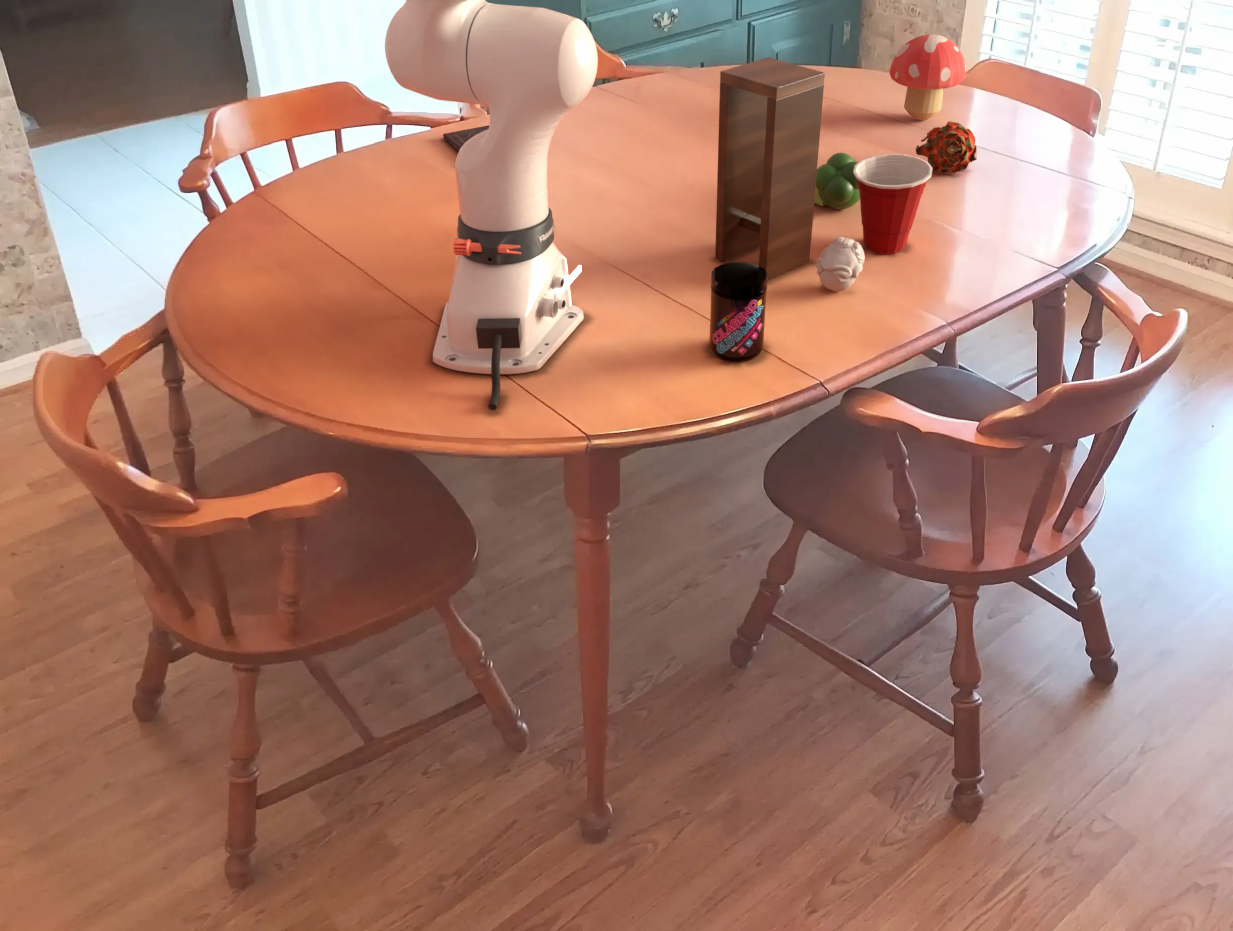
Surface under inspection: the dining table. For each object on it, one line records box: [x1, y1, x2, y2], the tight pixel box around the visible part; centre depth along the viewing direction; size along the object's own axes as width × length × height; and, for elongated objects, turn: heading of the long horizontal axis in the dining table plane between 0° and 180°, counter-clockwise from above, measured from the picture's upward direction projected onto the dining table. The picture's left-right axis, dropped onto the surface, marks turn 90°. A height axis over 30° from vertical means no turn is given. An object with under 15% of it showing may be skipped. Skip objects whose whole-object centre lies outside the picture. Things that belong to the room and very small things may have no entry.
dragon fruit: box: [915, 120, 978, 176], centre depth 181 cm, size 8×8×12 cm
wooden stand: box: [714, 56, 826, 282], centre depth 149 cm, size 10×9×26 cm
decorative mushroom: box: [888, 34, 967, 121], centre depth 199 cm, size 13×13×15 cm
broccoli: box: [814, 152, 860, 210], centre depth 171 cm, size 17×9×8 cm, turn 40°
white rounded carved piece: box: [815, 236, 866, 292], centre depth 147 cm, size 6×7×7 cm
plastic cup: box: [853, 153, 933, 255], centre depth 156 cm, size 11×11×12 cm
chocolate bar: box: [443, 124, 490, 152], centre depth 196 cm, size 9×1×18 cm
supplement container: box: [709, 261, 768, 363], centre depth 133 cm, size 7×7×10 cm
